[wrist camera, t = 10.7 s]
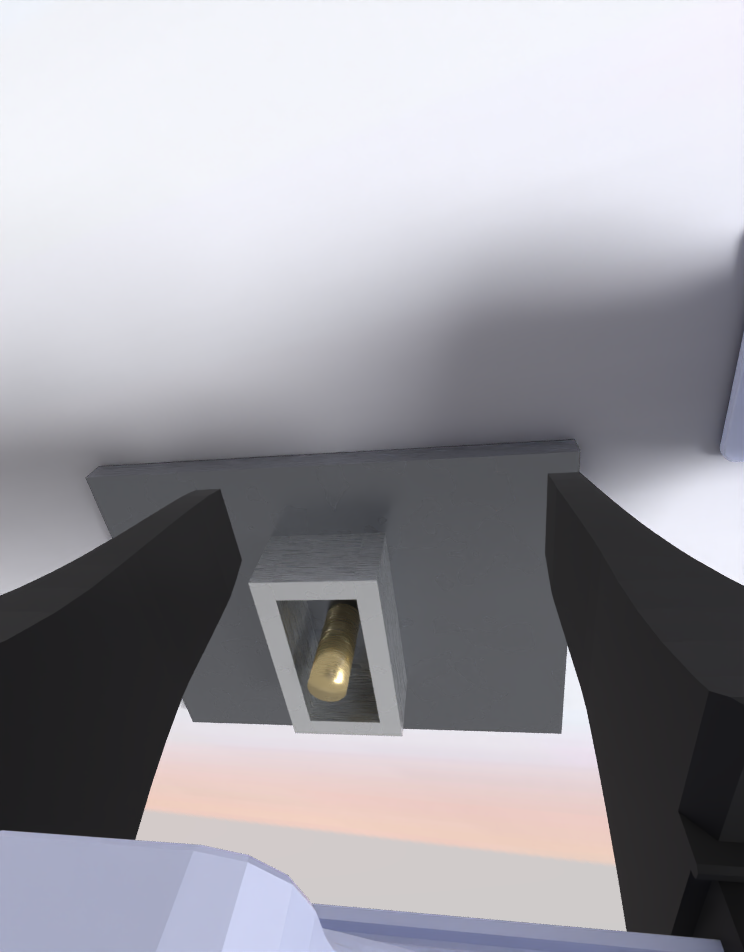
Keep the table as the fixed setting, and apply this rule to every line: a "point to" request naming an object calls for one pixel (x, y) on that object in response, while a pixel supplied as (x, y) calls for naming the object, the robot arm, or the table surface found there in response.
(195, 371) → the table surface
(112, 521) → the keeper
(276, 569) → the link
